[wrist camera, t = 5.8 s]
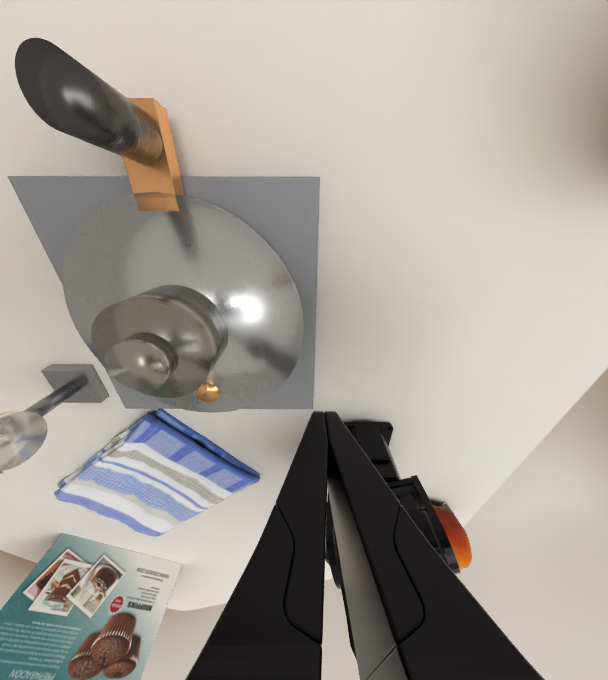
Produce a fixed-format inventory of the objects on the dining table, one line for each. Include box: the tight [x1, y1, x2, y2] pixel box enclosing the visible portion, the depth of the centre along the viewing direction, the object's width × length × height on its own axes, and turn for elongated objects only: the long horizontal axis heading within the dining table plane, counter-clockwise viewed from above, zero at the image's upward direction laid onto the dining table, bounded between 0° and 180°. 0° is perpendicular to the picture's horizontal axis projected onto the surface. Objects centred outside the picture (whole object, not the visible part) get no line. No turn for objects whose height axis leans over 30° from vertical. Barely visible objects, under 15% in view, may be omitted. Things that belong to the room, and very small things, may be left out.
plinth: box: [8, 176, 320, 409], centre depth 19 cm, size 20×20×1 cm
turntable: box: [15, 38, 304, 412], centre depth 15 cm, size 22×18×6 cm
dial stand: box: [0, 365, 109, 471], centre depth 18 cm, size 4×4×9 cm
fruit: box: [431, 503, 472, 570], centre depth 31 cm, size 8×8×8 cm
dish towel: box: [54, 408, 260, 537], centre depth 29 cm, size 17×24×3 cm
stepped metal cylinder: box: [91, 285, 229, 398], centre depth 15 cm, size 7×7×6 cm
